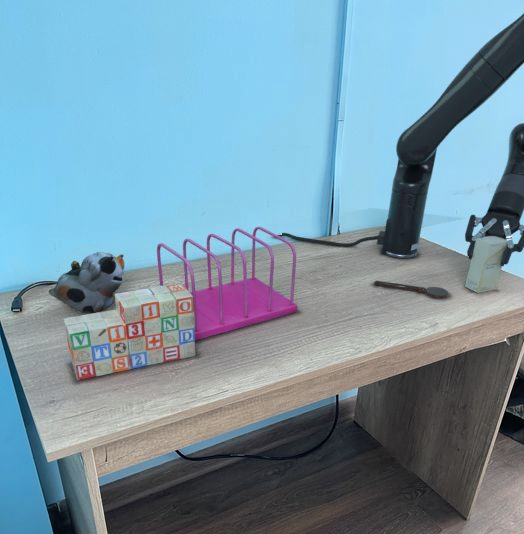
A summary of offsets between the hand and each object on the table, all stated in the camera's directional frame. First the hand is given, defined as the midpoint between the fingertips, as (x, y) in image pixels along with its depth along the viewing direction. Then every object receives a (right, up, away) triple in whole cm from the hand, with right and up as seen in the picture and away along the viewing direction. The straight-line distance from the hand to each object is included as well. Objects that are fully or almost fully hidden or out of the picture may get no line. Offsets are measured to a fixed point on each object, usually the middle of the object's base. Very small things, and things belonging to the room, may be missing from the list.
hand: (486, 261), depth 122 cm
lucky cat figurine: (-89, -10, -5) cm, 90 cm away
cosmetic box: (+1, -6, +5) cm, 8 cm away
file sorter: (-59, -12, -7) cm, 61 cm away
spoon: (-17, -6, +4) cm, 18 cm away
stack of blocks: (-75, -23, -26) cm, 82 cm away
